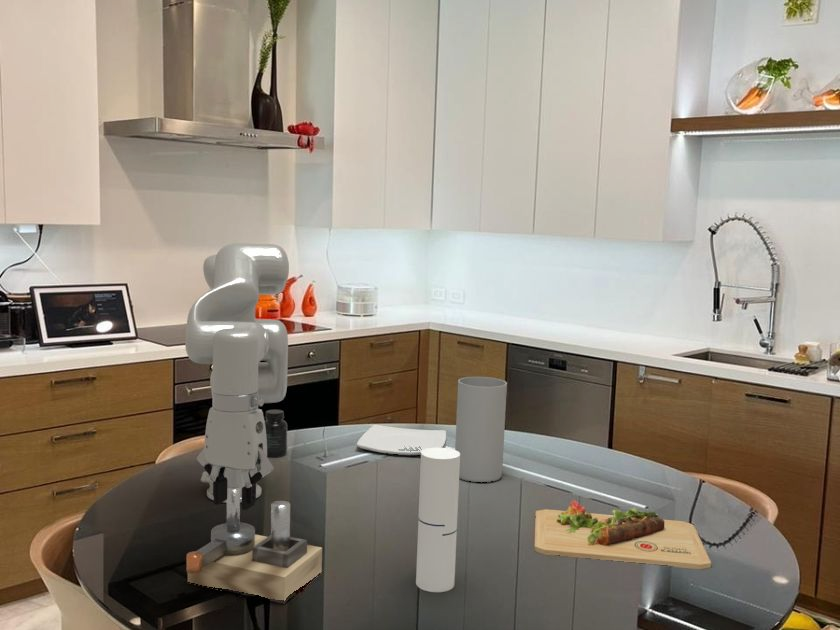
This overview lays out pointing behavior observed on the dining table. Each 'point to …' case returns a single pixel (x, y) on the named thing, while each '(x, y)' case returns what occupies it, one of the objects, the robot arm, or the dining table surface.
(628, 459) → the dining table surface
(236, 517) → the grey crank lever
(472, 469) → the cylinder vase
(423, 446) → the plate
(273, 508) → the key peg
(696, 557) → the cutting board
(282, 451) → the supplement bottle
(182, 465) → the dining table surface
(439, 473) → the cylindrical container
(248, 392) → the robot arm
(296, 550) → the block
